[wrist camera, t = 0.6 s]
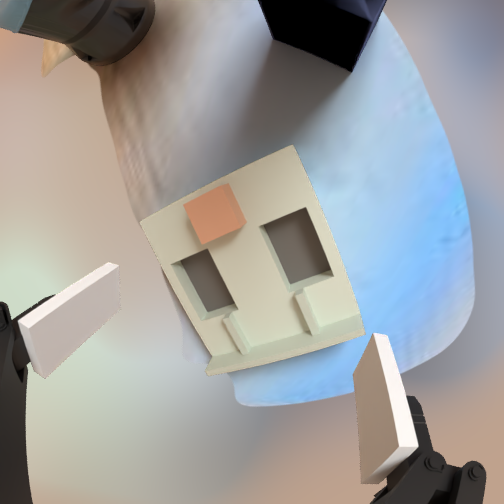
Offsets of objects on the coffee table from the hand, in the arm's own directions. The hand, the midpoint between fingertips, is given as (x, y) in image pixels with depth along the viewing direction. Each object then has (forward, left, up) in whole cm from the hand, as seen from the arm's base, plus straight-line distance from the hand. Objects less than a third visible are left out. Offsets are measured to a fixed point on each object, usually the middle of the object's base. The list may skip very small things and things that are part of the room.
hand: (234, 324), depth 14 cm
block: (-5, -6, -21) cm, 23 cm away
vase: (-22, +16, -24) cm, 36 cm away
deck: (+3, -6, -24) cm, 25 cm away
